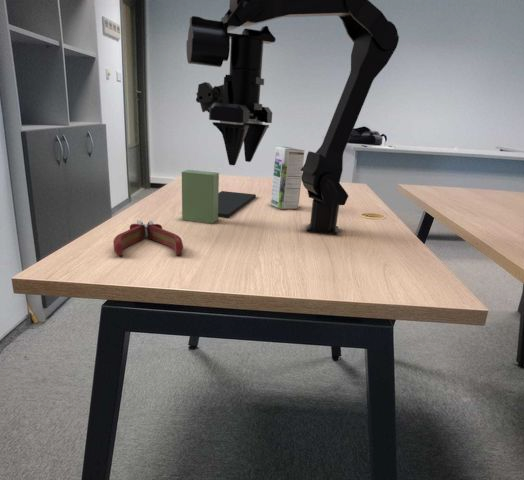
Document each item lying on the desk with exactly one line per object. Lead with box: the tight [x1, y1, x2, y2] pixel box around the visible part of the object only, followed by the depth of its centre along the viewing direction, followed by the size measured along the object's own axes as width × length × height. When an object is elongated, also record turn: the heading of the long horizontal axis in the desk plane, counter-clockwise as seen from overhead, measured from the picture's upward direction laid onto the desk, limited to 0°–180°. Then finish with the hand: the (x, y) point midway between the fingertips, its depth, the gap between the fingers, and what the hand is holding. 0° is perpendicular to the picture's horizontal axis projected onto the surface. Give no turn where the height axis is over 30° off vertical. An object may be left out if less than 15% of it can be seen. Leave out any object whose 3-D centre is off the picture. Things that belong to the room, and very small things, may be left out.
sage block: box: [181, 169, 220, 224], centre depth 102 cm, size 4×7×10 cm, turn 78°
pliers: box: [112, 219, 184, 257], centre depth 86 cm, size 12×20×3 cm, turn 15°
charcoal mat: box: [218, 190, 257, 219], centre depth 122 cm, size 30×10×1 cm, turn 168°
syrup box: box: [270, 146, 305, 210], centre depth 121 cm, size 6×6×14 cm
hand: (240, 163), depth 91 cm, fingers open, 9 cm apart
